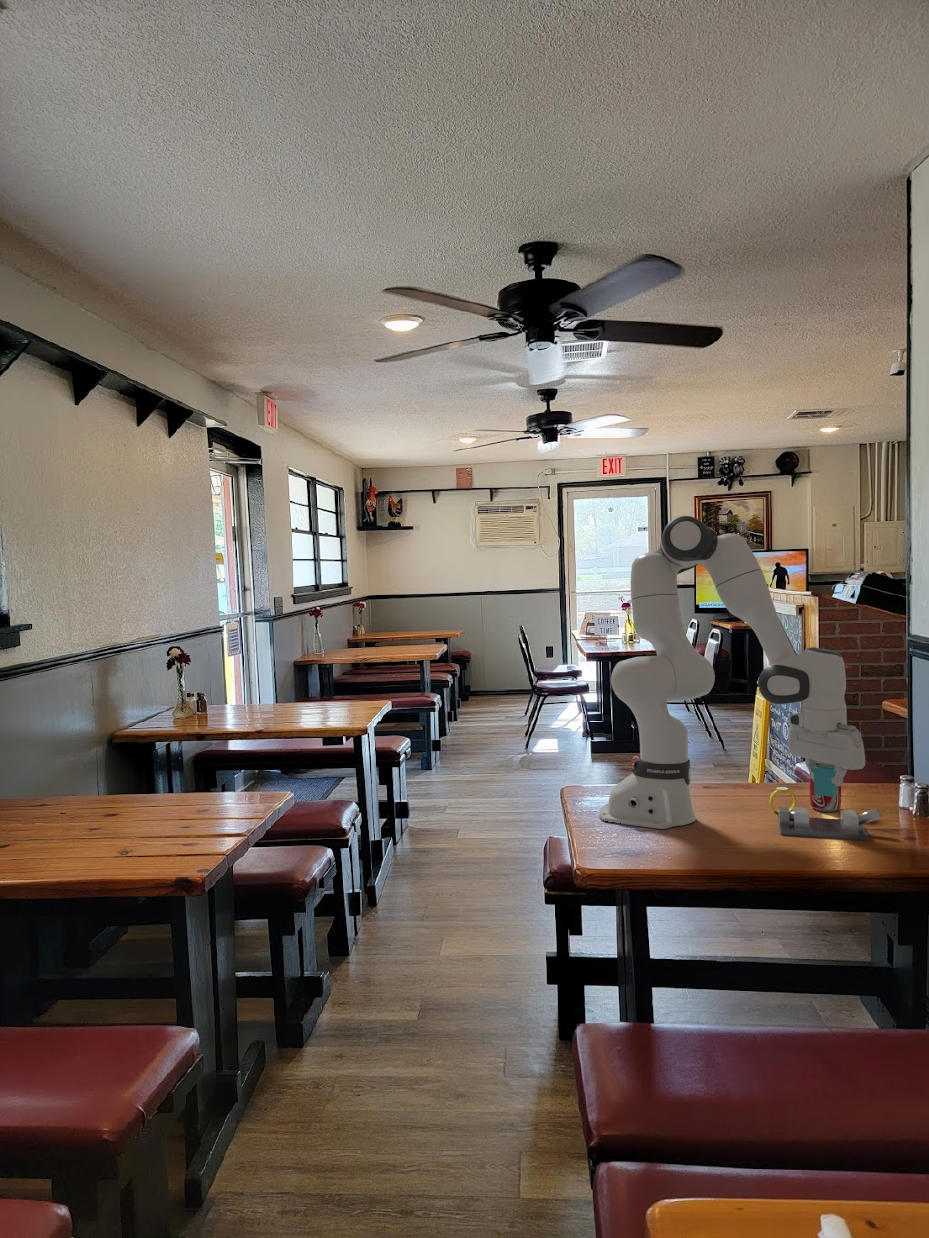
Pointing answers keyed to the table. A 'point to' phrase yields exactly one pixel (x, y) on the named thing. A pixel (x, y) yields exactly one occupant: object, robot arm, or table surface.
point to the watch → (783, 790)
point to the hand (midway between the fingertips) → (825, 782)
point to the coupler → (824, 781)
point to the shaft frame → (826, 824)
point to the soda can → (824, 797)
